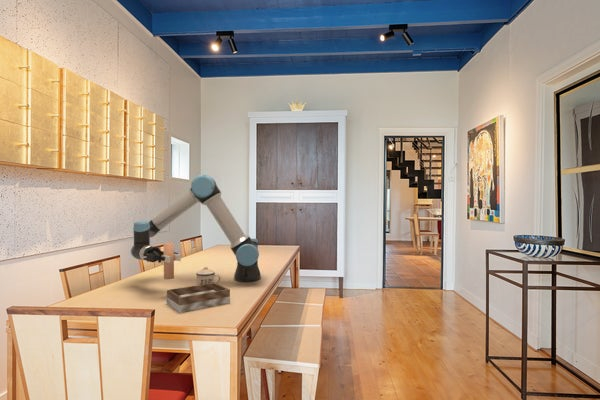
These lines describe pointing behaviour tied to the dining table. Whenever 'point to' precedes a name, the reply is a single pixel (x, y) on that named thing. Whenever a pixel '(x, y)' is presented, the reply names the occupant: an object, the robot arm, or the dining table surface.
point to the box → (197, 297)
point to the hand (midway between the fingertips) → (174, 258)
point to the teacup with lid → (206, 276)
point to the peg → (170, 266)
